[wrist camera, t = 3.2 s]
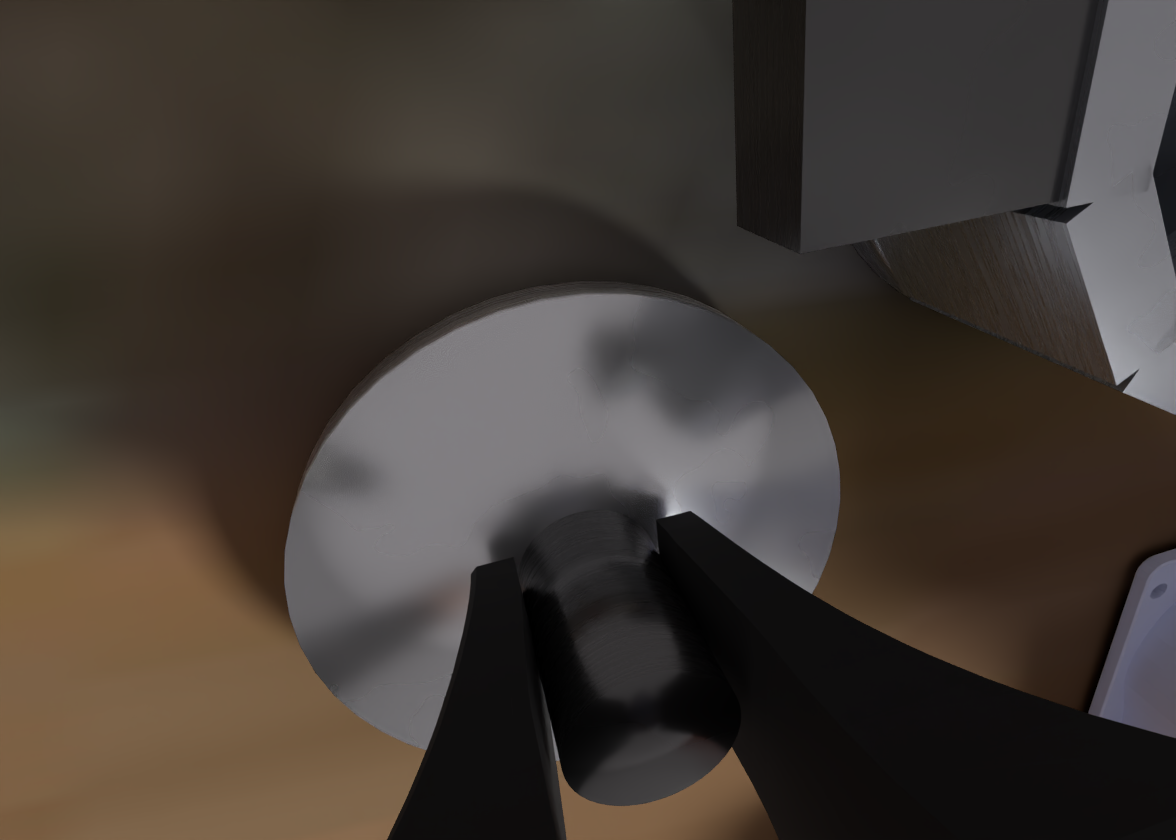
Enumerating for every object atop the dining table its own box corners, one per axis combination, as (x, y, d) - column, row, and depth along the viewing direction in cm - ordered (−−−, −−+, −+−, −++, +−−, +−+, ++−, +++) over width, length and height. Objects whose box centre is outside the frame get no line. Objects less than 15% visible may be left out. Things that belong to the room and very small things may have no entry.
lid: (787, 622, 16) (940, 838, 12) (383, 742, 15) (375, 1042, 10) (795, 216, 12) (1051, 308, 7) (209, 331, 10) (53, 540, 6)
